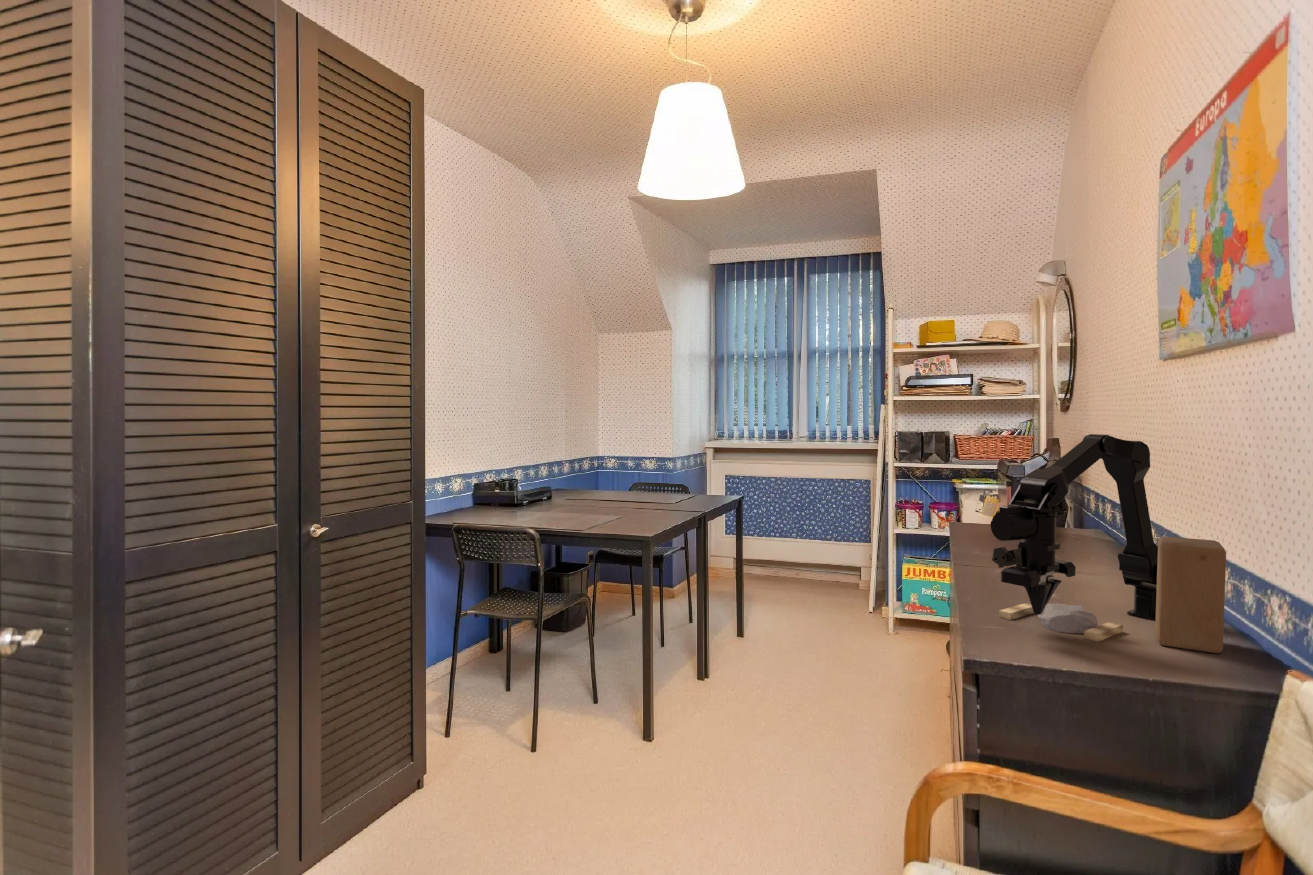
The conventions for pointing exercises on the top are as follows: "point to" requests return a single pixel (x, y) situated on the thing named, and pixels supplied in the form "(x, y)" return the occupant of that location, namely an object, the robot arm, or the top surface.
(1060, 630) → the stone block
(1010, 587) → the top surface
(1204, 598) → the wooden block
